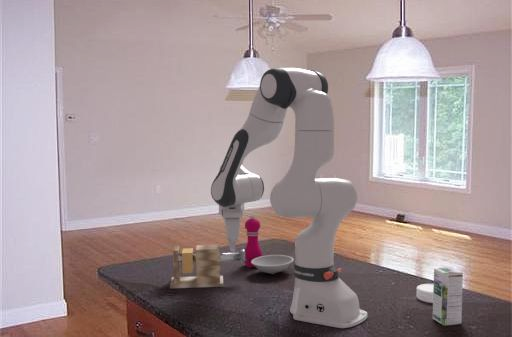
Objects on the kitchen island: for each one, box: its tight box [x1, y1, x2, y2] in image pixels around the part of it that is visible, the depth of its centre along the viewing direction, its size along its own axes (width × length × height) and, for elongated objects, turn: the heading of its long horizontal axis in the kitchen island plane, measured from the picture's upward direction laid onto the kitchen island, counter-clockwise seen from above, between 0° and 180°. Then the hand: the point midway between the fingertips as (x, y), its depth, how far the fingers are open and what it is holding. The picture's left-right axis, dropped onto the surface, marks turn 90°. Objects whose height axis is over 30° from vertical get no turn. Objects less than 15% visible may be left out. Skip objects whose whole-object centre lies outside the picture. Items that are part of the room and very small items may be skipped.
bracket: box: [169, 244, 224, 289], centre depth 187 cm, size 18×10×13 cm, turn 94°
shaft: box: [172, 248, 246, 264], centre depth 187 cm, size 25×5×5 cm, turn 94°
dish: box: [251, 254, 295, 275], centre depth 198 cm, size 18×14×5 cm
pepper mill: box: [244, 214, 263, 268], centre depth 209 cm, size 7×7×20 cm
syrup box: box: [432, 266, 464, 327], centre depth 148 cm, size 6×6×14 cm
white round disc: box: [415, 283, 434, 304], centre depth 168 cm, size 10×10×4 cm
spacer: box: [181, 247, 195, 274], centre depth 186 cm, size 4×7×7 cm, turn 4°
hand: (232, 247), depth 188 cm, fingers open, 8 cm apart
